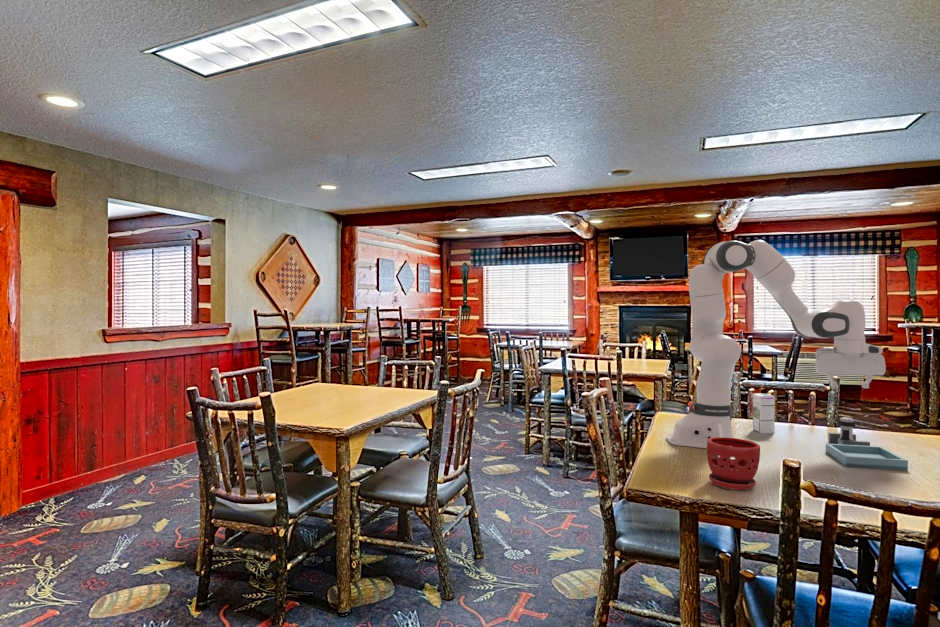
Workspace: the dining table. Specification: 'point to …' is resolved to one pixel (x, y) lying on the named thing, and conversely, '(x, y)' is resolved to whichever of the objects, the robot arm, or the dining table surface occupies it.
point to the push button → (846, 428)
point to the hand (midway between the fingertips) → (849, 387)
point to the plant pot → (733, 462)
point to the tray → (866, 457)
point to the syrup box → (763, 413)
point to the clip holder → (834, 440)
